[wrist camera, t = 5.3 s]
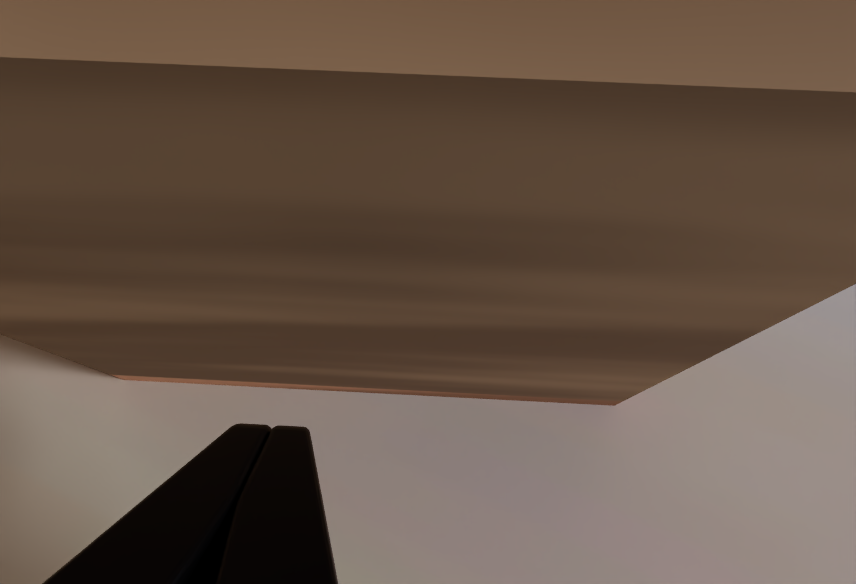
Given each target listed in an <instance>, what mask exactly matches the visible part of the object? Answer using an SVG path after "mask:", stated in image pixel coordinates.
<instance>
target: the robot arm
mask: <svg viewBox="0 0 856 584" xmlns="http://www.w3.org/2000/svg"><path fill="white" fill-rule="evenodd" d="M42 584H338V580H337V575H336V570H335V564H334V559H333V553H332V548H331V543H330V537H329V532H328V527H327V521H326V516H325V511H324V505H323V500H322V495H321V489H320V484H319V478H318V473H317V468H316V462H315V457H314V452H313V446H312V441H311V436H310V432H309V430H308V429H307V428H306V427H297V426H276V427H274V428H272V429H271V428H270V427H269V426H268V425H259V424H236V425H234V426H232V427H230V428H229V429H228V430H227V431H226V432H224V433H223V434H222V435H221V436H219V437H218V438H217V439H216V440H215V441H213V442H212V443H211V444H210V445H209V446H207V447H206V448H205V449H204V450H203V451H201V452H200V453H199V454H198V455H197V456H195V457H194V458H193V459H192V460H191V461H189V462H188V463H187V464H186V465H185V466H183V467H182V468H181V469H180V470H179V471H177V472H176V473H175V474H174V475H173V476H171V477H170V478H169V479H168V480H167V481H165V482H164V483H163V484H162V485H160V486H159V487H158V488H157V489H156V490H154V491H153V492H152V493H151V494H150V495H148V496H147V497H146V498H145V499H144V500H142V501H141V502H140V503H139V504H138V505H136V506H135V507H134V508H133V509H132V510H130V511H129V512H128V513H127V514H126V515H124V516H123V517H122V518H121V519H120V520H118V521H117V522H116V523H115V524H114V525H112V526H111V527H110V528H109V529H108V530H106V531H105V532H104V533H103V534H101V535H100V536H99V537H98V538H97V539H95V540H94V541H93V542H92V543H91V544H89V545H88V546H87V547H86V548H85V549H83V550H82V551H81V552H80V553H79V554H77V555H76V556H75V557H74V558H73V559H71V560H70V561H69V562H68V563H67V564H65V565H64V566H63V567H62V568H61V569H59V570H58V571H57V572H56V573H55V574H53V575H52V576H51V577H50V578H49V579H47V580H46V581H45V582H44V583H42Z"/></svg>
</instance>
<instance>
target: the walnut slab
mask: <svg viewBox="0 0 856 584" xmlns="http://www.w3.org/2000/svg"><path fill="white" fill-rule="evenodd" d="M854 284H856V0H0V334H2V335H4V336H7V337H10V338H12V339H15V340H18V341H20V342H23V343H26V344H29V345H31V346H34V347H37V348H39V349H42V350H45V351H48V352H50V353H53V354H56V355H58V356H61V357H64V358H66V359H69V360H72V361H75V362H77V363H80V364H83V365H85V366H88V367H91V368H93V369H96V370H99V371H102V372H104V373H107V374H110V375H112V376H115V377H118V378H120V379H123V380H137V381H156V382H175V383H194V384H213V385H232V386H251V387H270V388H289V389H309V390H328V391H347V392H366V393H385V394H404V395H423V396H442V397H461V398H480V399H499V400H519V401H538V402H557V403H576V404H595V405H616V404H618V403H620V402H622V401H624V400H626V399H628V398H630V397H632V396H634V395H636V394H638V393H640V392H642V391H644V390H646V389H648V388H650V387H652V386H654V385H656V384H658V383H660V382H662V381H664V380H666V379H668V378H670V377H672V376H674V375H676V374H678V373H680V372H682V371H684V370H686V369H688V368H690V367H692V366H694V365H696V364H698V363H700V362H702V361H704V360H706V359H708V358H710V357H712V356H714V355H715V354H717V353H719V352H721V351H723V350H725V349H727V348H729V347H731V346H733V345H735V344H737V343H739V342H741V341H743V340H745V339H747V338H749V337H751V336H753V335H755V334H757V333H759V332H761V331H763V330H765V329H767V328H769V327H771V326H773V325H775V324H777V323H779V322H781V321H783V320H785V319H787V318H789V317H791V316H793V315H795V314H797V313H799V312H801V311H803V310H805V309H807V308H809V307H811V306H813V305H815V304H817V303H819V302H820V301H822V300H824V299H826V298H828V297H830V296H832V295H834V294H836V293H838V292H840V291H842V290H844V289H846V288H848V287H850V286H852V285H854Z"/></svg>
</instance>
